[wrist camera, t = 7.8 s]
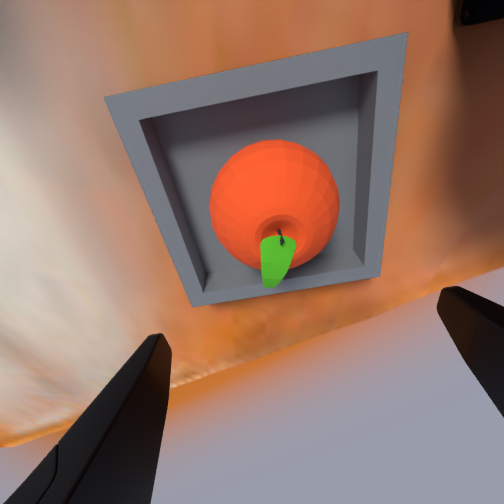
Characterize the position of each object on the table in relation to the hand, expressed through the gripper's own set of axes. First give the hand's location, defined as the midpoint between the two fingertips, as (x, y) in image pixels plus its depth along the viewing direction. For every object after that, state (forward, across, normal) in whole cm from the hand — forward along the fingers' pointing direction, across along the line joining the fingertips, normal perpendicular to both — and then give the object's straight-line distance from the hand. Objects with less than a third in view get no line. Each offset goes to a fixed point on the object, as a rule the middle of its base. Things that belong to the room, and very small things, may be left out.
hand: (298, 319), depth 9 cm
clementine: (+11, 0, 0) cm, 11 cm away
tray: (+12, 0, 0) cm, 12 cm away
